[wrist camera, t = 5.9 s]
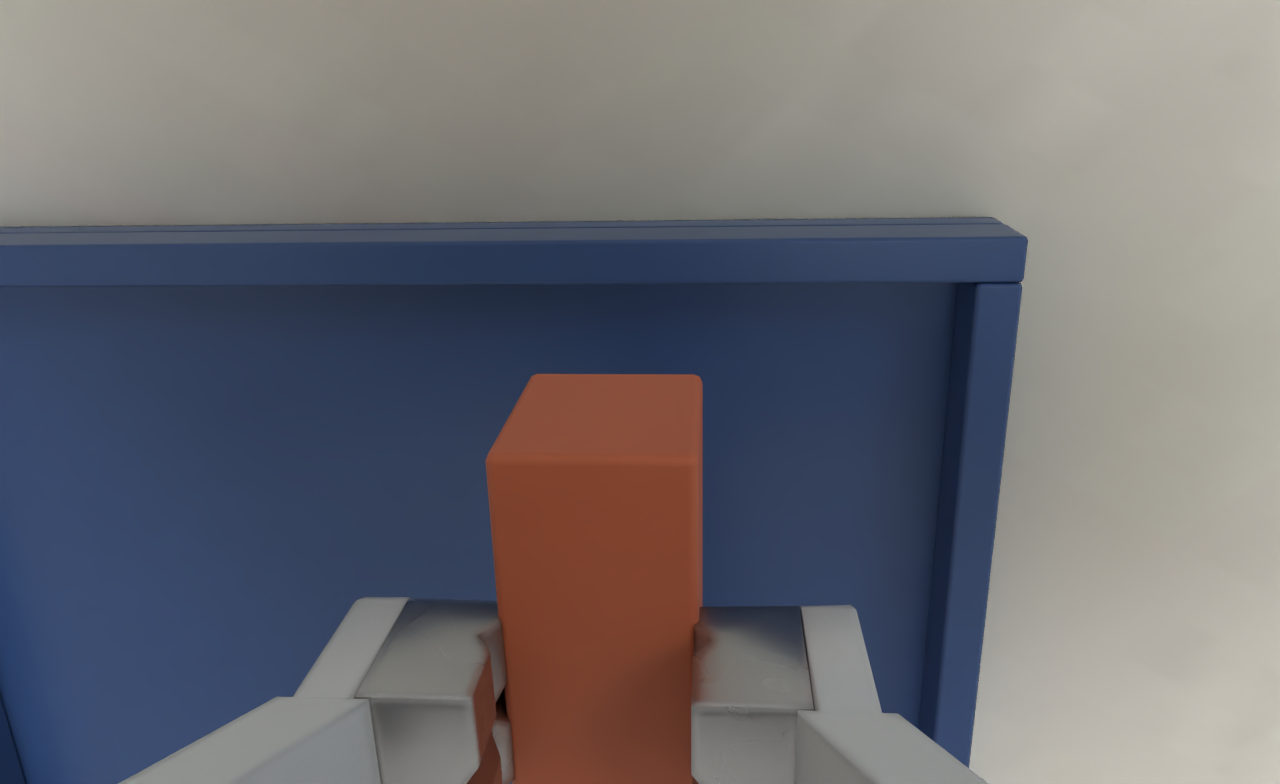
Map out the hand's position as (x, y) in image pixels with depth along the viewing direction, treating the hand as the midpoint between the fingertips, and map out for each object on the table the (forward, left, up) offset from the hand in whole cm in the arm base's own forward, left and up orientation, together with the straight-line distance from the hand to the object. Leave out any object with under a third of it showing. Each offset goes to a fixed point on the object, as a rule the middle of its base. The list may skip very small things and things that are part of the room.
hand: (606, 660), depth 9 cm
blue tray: (+5, -4, -6) cm, 9 cm away
